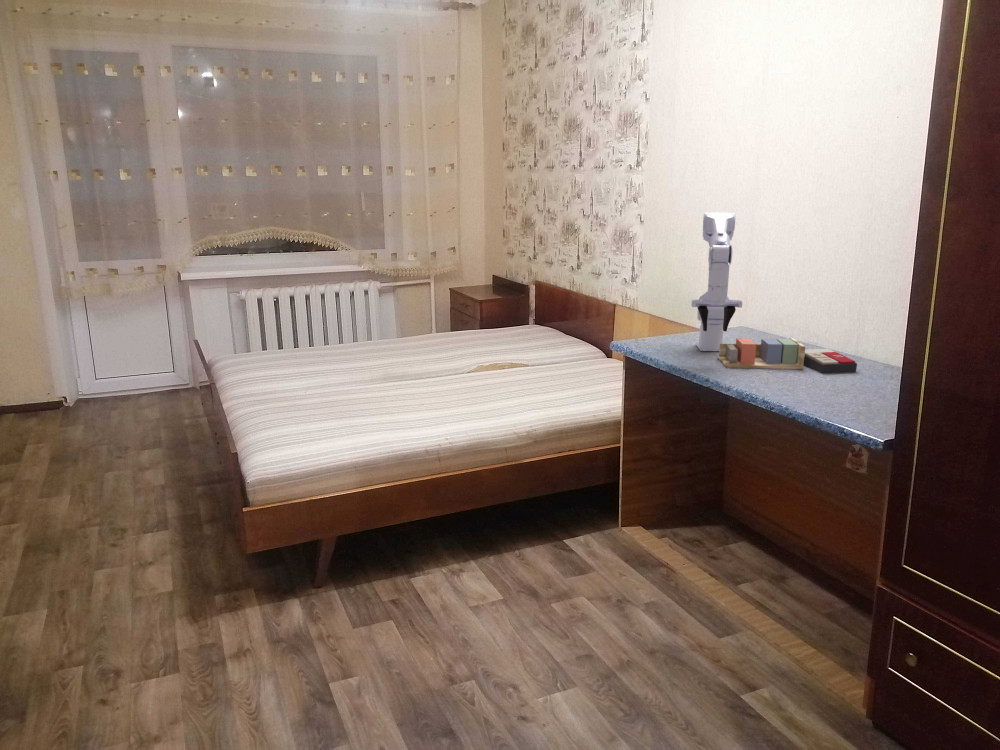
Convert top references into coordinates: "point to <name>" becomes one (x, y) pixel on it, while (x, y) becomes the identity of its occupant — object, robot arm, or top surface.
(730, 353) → the bookend
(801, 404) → the top surface
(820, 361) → the calculator
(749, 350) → the orange rectangular block
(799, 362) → the shelf
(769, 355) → the book
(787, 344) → the book
